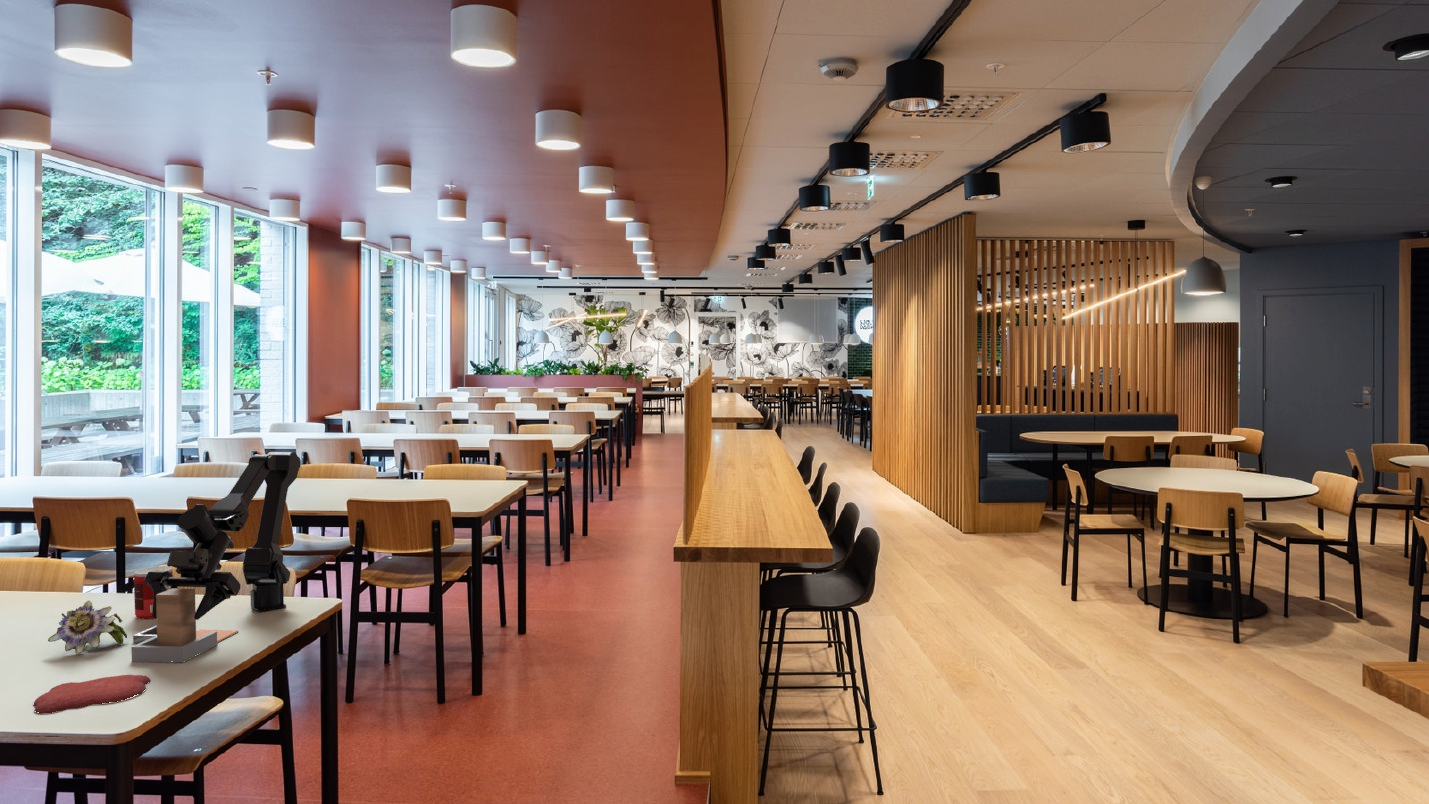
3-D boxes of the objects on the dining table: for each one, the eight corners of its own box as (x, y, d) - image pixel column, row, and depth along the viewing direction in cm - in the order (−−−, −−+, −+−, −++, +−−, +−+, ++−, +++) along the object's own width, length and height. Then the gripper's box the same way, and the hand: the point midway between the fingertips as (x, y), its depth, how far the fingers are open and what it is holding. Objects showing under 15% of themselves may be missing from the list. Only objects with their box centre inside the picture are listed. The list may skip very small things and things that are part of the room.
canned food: (181, 610, 214) (179, 566, 214) (157, 620, 207) (155, 574, 206) (152, 609, 215) (150, 565, 215) (127, 619, 207) (125, 573, 207)
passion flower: (81, 678, 184) (37, 640, 178) (90, 653, 193) (49, 616, 188) (131, 644, 186) (89, 606, 181) (138, 621, 196) (99, 584, 191)
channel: (168, 643, 190) (168, 630, 189) (217, 645, 189) (217, 631, 189) (131, 661, 179) (131, 646, 178) (183, 662, 178) (182, 648, 178)
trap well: (158, 630, 199) (158, 624, 199) (192, 631, 198) (192, 625, 198) (133, 642, 191) (133, 635, 191) (168, 643, 190) (168, 636, 190)
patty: (26, 720, 151) (25, 708, 151) (41, 693, 163) (40, 682, 163) (146, 701, 159) (146, 690, 159) (152, 676, 172) (151, 666, 171)
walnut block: (174, 648, 187) (172, 588, 186) (196, 648, 187) (195, 588, 186) (157, 656, 182) (156, 594, 181) (180, 656, 182) (179, 595, 181)
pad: (200, 631, 198) (200, 629, 198) (238, 632, 198) (238, 630, 198) (173, 644, 190) (173, 642, 190) (212, 645, 189) (212, 643, 189)
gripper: (148, 533, 189) (111, 597, 178) (231, 535, 187) (199, 599, 177) (174, 561, 197) (140, 624, 186) (253, 563, 196) (224, 626, 185)
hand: (174, 618), depth 183 cm, fingers open, 9 cm apart
